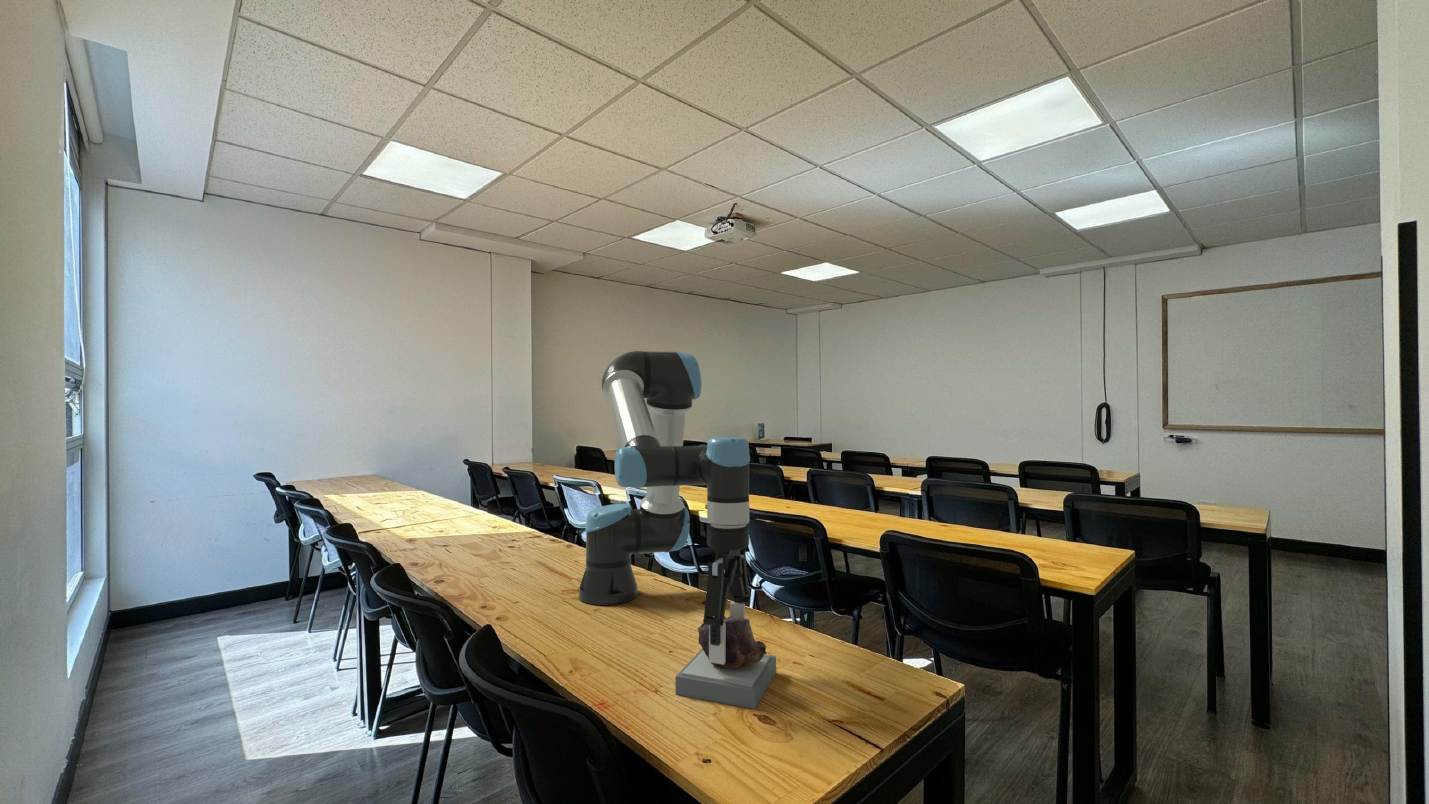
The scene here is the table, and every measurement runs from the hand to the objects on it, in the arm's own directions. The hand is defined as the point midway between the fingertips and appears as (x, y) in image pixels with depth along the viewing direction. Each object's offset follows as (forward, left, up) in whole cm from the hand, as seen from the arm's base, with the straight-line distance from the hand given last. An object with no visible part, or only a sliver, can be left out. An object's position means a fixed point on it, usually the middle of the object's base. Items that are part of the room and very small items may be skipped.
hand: (727, 650), depth 102 cm
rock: (0, 0, -3) cm, 3 cm away
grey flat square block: (0, 0, -6) cm, 6 cm away
